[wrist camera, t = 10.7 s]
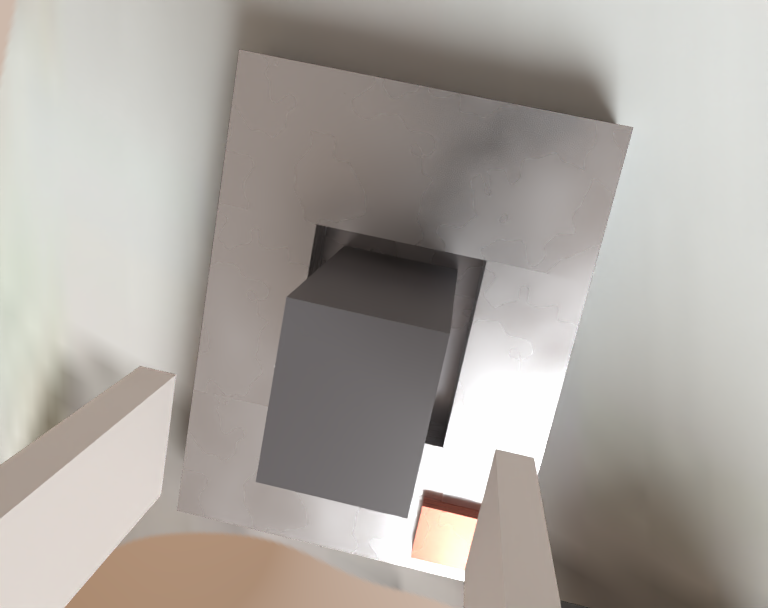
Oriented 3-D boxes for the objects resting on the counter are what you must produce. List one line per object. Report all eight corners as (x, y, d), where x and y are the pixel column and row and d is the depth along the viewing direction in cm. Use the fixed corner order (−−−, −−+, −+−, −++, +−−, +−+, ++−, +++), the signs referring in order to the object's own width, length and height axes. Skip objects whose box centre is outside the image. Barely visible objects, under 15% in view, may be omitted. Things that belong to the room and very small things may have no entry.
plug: (344, 245, 25) (286, 297, 17) (457, 270, 25) (450, 333, 17) (320, 378, 26) (255, 481, 19) (427, 403, 26) (407, 518, 18)
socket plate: (261, 57, 24) (232, 47, 21) (617, 127, 23) (637, 127, 21) (201, 479, 28) (170, 519, 25) (503, 552, 27) (506, 602, 25)
